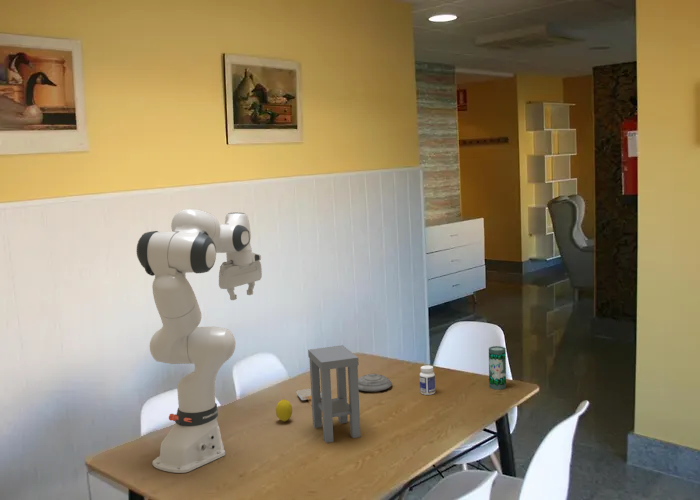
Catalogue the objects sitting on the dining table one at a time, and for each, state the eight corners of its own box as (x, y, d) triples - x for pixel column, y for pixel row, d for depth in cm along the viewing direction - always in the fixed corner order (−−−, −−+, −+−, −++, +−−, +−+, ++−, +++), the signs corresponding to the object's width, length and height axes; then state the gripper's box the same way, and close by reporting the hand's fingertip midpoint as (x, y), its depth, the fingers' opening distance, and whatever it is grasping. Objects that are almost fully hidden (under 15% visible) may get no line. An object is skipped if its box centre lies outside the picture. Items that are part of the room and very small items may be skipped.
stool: (361, 437, 211) (358, 357, 208) (325, 443, 208) (321, 362, 204) (346, 419, 226) (342, 345, 223) (311, 425, 223) (308, 349, 220)
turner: (316, 387, 254) (317, 393, 254) (296, 390, 251) (296, 396, 252) (335, 408, 231) (335, 414, 232) (313, 411, 229) (313, 418, 229)
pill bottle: (435, 390, 252) (434, 364, 251) (435, 395, 247) (434, 369, 245) (419, 390, 253) (419, 364, 252) (420, 395, 247) (419, 369, 246)
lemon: (290, 425, 224) (288, 402, 223) (274, 424, 225) (273, 401, 224) (294, 418, 229) (293, 396, 228) (279, 418, 230) (278, 396, 229)
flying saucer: (347, 385, 262) (346, 372, 261) (381, 379, 268) (380, 366, 268) (364, 397, 249) (363, 382, 248) (399, 390, 255) (398, 376, 254)
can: (488, 388, 251) (488, 350, 249) (490, 383, 257) (489, 345, 255) (505, 389, 249) (504, 350, 247) (506, 384, 255) (505, 346, 253)
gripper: (227, 263, 223) (230, 303, 225) (263, 254, 241) (265, 292, 243) (212, 262, 226) (215, 302, 228) (249, 254, 244) (252, 291, 246)
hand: (241, 297), depth 235 cm, fingers open, 8 cm apart
